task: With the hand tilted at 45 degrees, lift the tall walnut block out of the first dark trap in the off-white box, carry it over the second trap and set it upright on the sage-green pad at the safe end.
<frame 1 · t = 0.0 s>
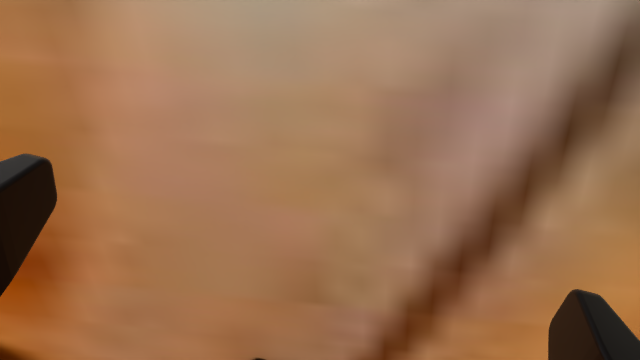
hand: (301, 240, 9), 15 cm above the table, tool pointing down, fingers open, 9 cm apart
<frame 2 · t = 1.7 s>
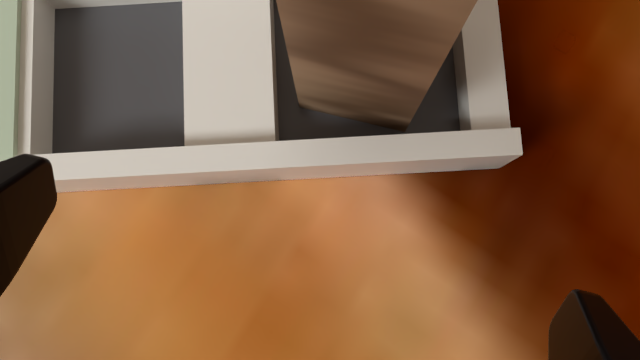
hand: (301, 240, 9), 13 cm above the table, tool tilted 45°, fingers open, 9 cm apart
walnut block: (364, 69, 24), resting on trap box
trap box: (172, 82, 24), on the table
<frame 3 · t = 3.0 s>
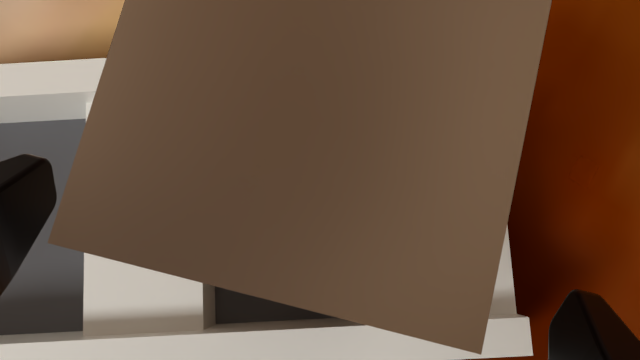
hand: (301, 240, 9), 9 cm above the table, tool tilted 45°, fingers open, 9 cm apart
walnut block: (326, 208, 18), resting on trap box
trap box: (81, 222, 19), on the table
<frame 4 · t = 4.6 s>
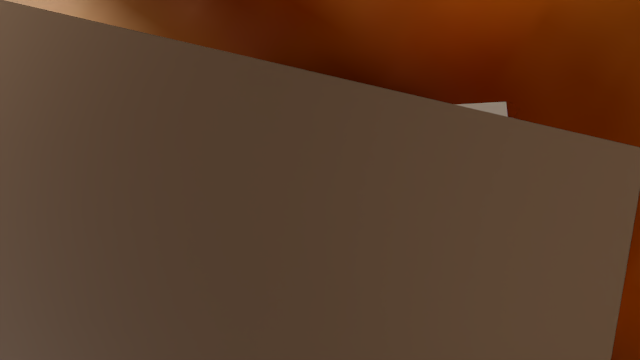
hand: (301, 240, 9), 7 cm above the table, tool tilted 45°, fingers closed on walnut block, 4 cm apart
walnut block: (301, 297, 15), resting on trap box, touching gripper
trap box: (14, 311, 16), on the table
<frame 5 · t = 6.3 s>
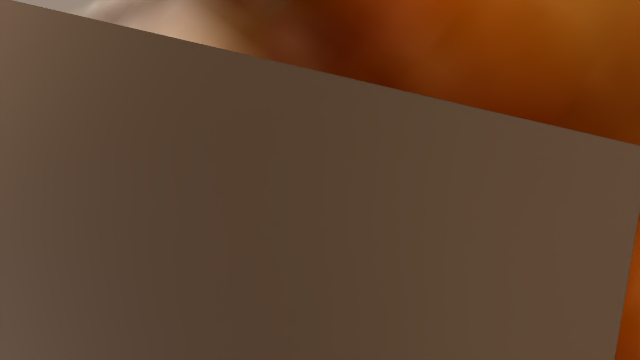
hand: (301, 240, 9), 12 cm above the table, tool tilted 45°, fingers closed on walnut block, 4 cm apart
walnut block: (302, 297, 15), point 6 cm above the table, touching gripper
when the fingers open (10 cm above the table, at t = 8.4 s): walnut block drops 1 cm, resting on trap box.
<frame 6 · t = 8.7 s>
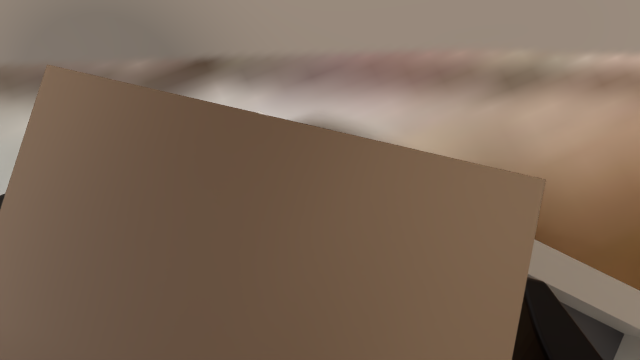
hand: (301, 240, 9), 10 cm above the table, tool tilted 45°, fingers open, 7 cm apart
walnut block: (303, 293, 17), point 2 cm above the table, touching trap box
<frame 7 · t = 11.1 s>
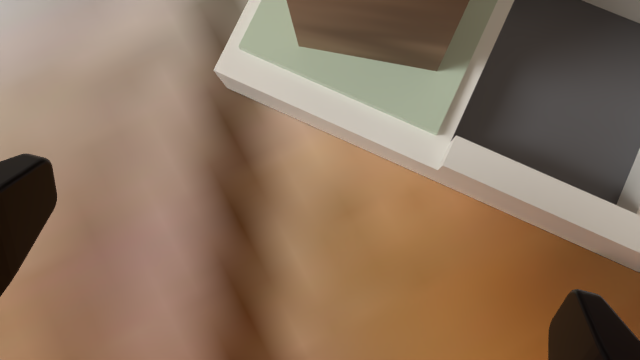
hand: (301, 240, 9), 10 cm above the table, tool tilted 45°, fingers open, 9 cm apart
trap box: (614, 121, 19), on the table
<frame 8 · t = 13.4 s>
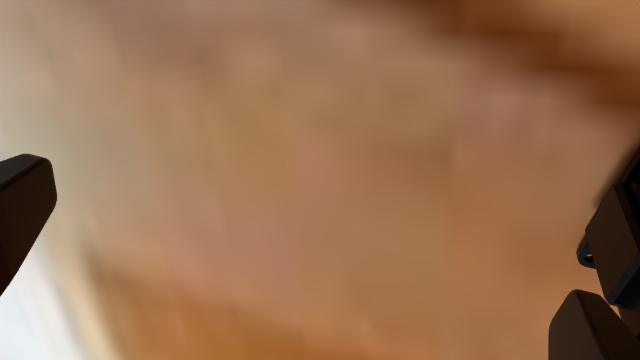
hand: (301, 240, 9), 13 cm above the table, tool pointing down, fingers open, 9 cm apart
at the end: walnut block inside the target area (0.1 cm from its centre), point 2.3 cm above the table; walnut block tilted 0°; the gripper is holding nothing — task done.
